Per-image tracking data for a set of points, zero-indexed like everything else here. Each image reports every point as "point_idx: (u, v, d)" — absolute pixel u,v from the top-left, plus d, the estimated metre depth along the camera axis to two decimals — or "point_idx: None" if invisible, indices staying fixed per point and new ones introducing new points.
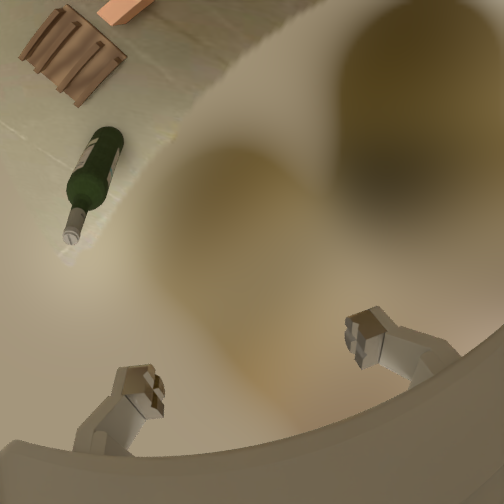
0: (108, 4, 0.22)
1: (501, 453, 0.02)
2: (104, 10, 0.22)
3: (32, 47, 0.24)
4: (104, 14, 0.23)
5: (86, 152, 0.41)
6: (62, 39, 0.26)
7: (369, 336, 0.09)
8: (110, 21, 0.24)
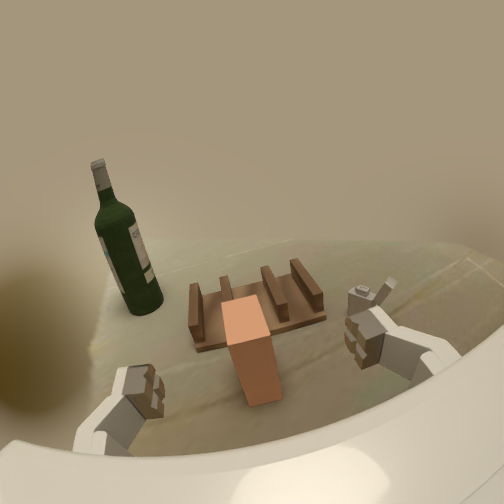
0: (256, 306, 0.28)
1: (501, 453, 0.02)
2: (251, 301, 0.29)
3: (295, 271, 0.47)
4: (245, 300, 0.29)
5: (142, 254, 0.47)
6: (273, 291, 0.41)
7: (369, 336, 0.09)
8: (228, 303, 0.29)
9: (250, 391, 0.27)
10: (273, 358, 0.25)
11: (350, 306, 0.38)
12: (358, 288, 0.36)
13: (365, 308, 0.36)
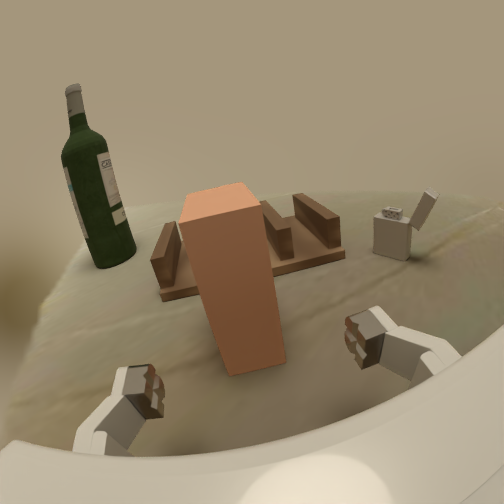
0: (240, 187, 0.17)
1: (501, 453, 0.02)
2: (233, 186, 0.18)
3: (300, 204, 0.36)
4: (223, 186, 0.18)
5: (111, 189, 0.36)
6: (271, 219, 0.30)
7: (369, 336, 0.09)
8: (198, 192, 0.18)
9: (228, 342, 0.16)
10: (268, 265, 0.14)
11: (377, 238, 0.27)
12: (387, 209, 0.25)
13: (398, 237, 0.25)
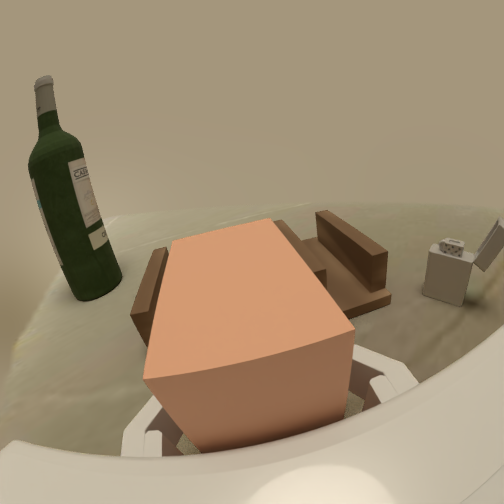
0: (273, 238, 0.09)
1: (501, 453, 0.02)
2: (256, 230, 0.10)
3: (327, 226, 0.27)
4: (238, 229, 0.10)
5: (87, 205, 0.28)
6: None
7: None
8: (191, 239, 0.10)
9: None
10: (338, 415, 0.06)
11: (430, 278, 0.19)
12: (447, 242, 0.17)
13: (458, 279, 0.17)
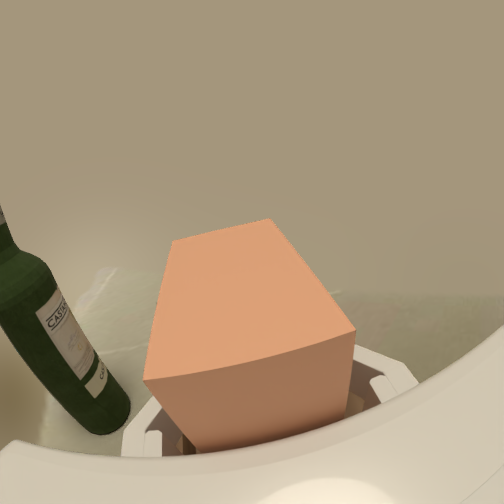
0: (273, 239, 0.09)
1: (501, 453, 0.02)
2: (256, 230, 0.10)
3: None
4: (238, 230, 0.10)
5: (74, 355, 0.20)
6: None
7: None
8: (191, 240, 0.10)
9: None
10: (339, 416, 0.06)
11: None
12: None
13: None
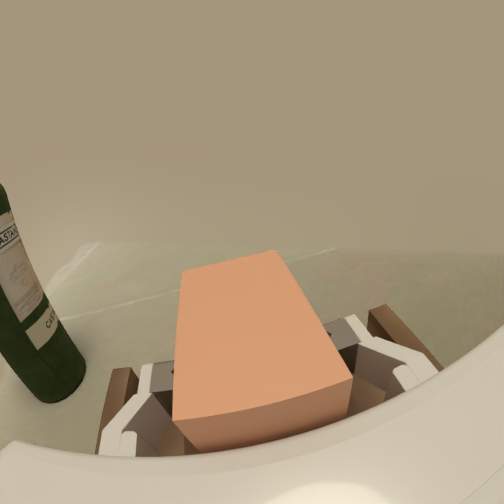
0: (280, 276, 0.09)
1: (501, 453, 0.02)
2: (263, 264, 0.10)
3: None
4: (246, 262, 0.11)
5: (16, 289, 0.15)
6: None
7: (341, 346, 0.09)
8: (200, 271, 0.11)
9: None
10: None
11: None
12: None
13: None
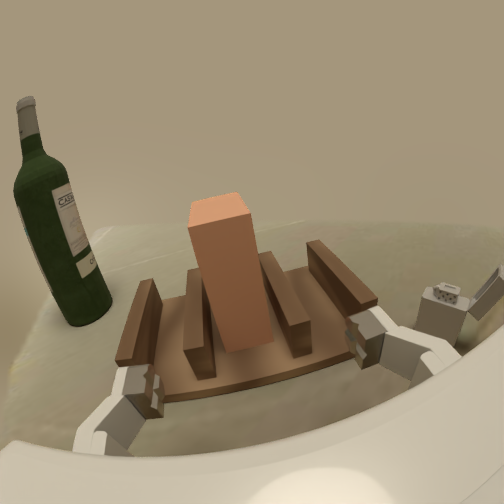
0: (235, 197, 0.21)
1: (501, 453, 0.02)
2: (229, 195, 0.22)
3: (318, 260, 0.27)
4: (222, 196, 0.22)
5: (73, 233, 0.27)
6: (281, 297, 0.21)
7: (369, 336, 0.09)
8: (200, 201, 0.23)
9: (225, 323, 0.20)
10: (256, 259, 0.18)
11: (421, 322, 0.18)
12: (442, 289, 0.16)
13: (450, 325, 0.16)
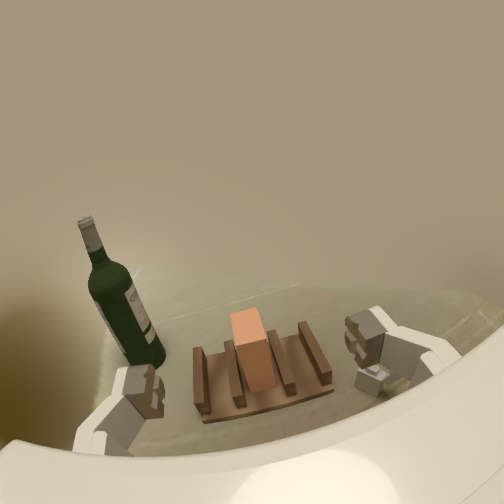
0: (256, 316, 0.37)
1: (501, 453, 0.02)
2: (252, 312, 0.38)
3: (303, 337, 0.43)
4: (248, 311, 0.39)
5: (141, 317, 0.43)
6: (280, 366, 0.37)
7: (369, 336, 0.09)
8: (235, 314, 0.39)
9: (252, 381, 0.36)
10: (268, 355, 0.34)
11: (358, 381, 0.34)
12: (368, 367, 0.32)
13: (373, 385, 0.32)
